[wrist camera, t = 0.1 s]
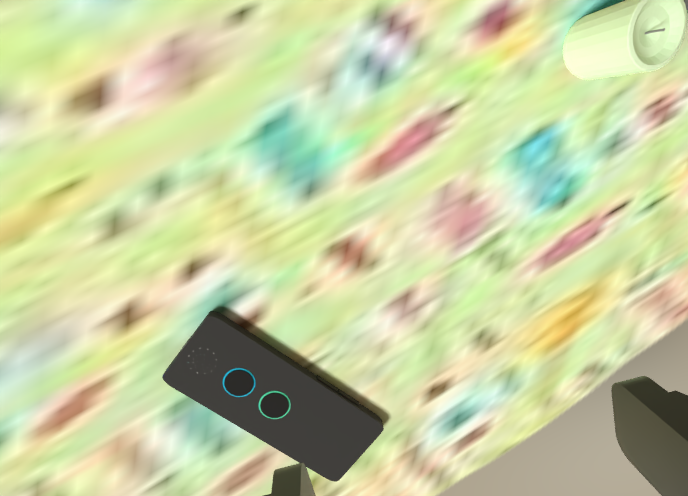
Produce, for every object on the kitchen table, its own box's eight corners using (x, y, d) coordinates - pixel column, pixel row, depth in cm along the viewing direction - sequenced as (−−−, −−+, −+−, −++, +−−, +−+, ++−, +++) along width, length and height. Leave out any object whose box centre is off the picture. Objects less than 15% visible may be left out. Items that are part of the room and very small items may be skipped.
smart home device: (210, 312, 40) (387, 426, 44) (214, 304, 42) (384, 415, 46) (157, 381, 41) (334, 486, 46) (163, 371, 43) (334, 473, 47)
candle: (632, 27, 37) (719, 2, 29) (604, 89, 38) (680, 80, 30) (578, 3, 36) (652, -29, 29) (551, 67, 38) (615, 53, 30)
